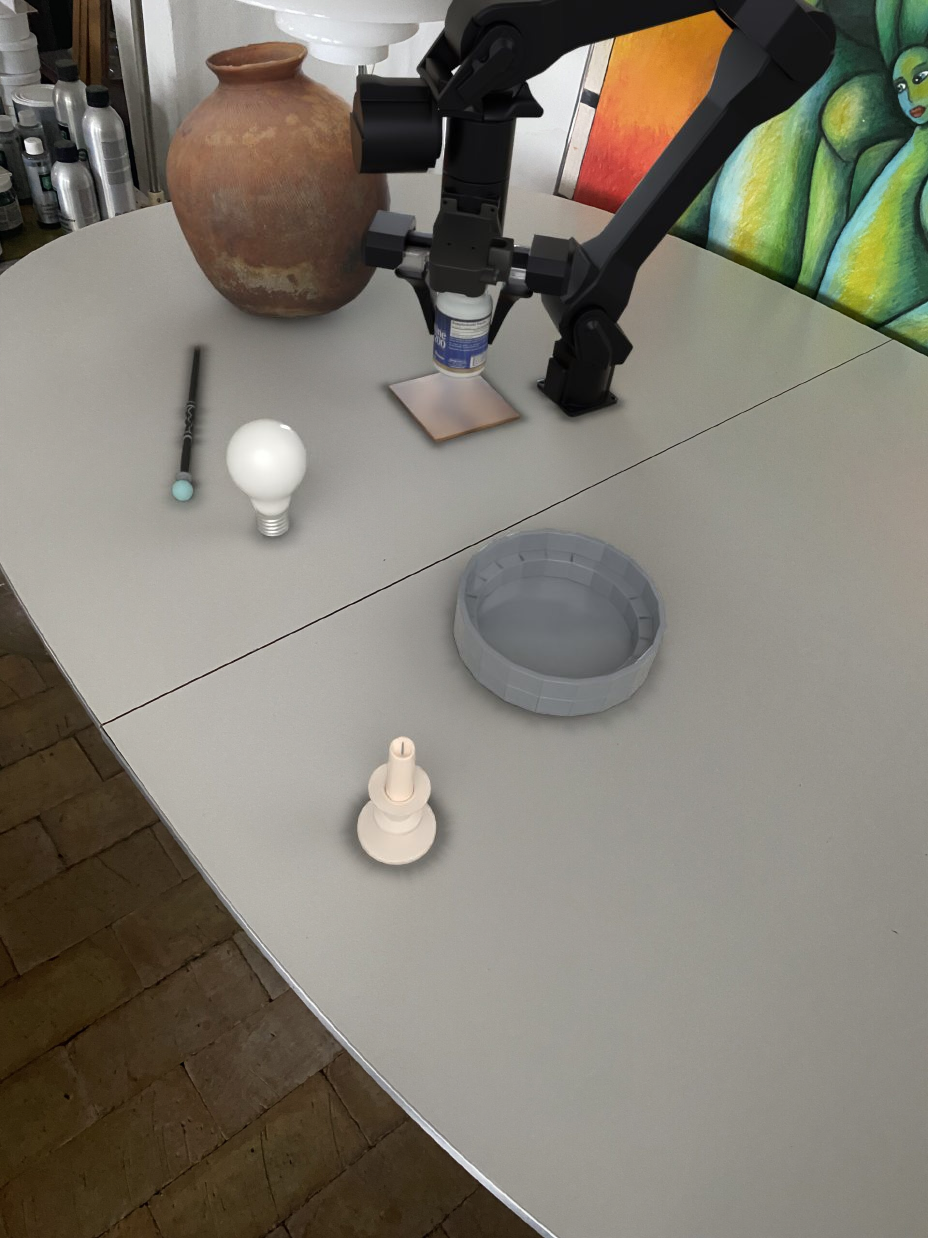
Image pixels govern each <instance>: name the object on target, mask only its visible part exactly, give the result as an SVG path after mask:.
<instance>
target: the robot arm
mask: <svg viewBox="0 0 928 1238" xmlns="http://www.w3.org/2000/svg"><path fill="white" fill-rule="evenodd" d="M710 12H714V13H715V14H716V15H717V17H718V18H719V19H720V20H721V21H722V22H723V23H724V24H725V25H726V26H727V27H728V28H729V29H730V30H731V32H730V34H729V36H728V37H727V39H726V40H725V43H724V45H723V46H722V47H721V51H720V53H719V56H718V60H717V63H716V67H715V71H714V73H713V77H712V80H711V84H710V87H709V89H708V91H707V93H706V94H705V96H704V97H703V98H702V100H701V101H700V102H699V104H697V107H695V109H694V110H693V112H692V113H691V114H690V116H689V117H688V118H687V119H686V120H685V122H684V123H683V125H682V126H681V128H680V129H679V130H678V131H677V133H676V134H675V135H674V137H673V138H672V139H671V140H670V142H669V143H668V144H667V146H666V147H665V148H664V149H663V151H662V152H661V154H660V155H659V156H658V158H657V159H656V160H655V161H654V163H653V164H652V165H651V166H650V168H649V169H648V171H646V173H645V174H644V176H643V177H642V179H641V180H640V181H638V183H637V185H636V186H635V187H634V189H633V190H632V191H631V193H630V194H629V195H628V196H627V198H626V199H625V201H624V202H623V203H622V204H621V206H620V207H619V208H618V210H617V211H616V212H615V214H613V216H612V217H611V219H610V220H609V222H608V223H606V225H605V227H604V228H603V229H602V230H601V231H600V232H599V233H598V234H597V235H596V236H594V237H592V238H590V239H588V240H585V241H584V242H582V243H579V242H578V241H577V240H576V238H575V237H574V236H570V237H568V238H567V239H566V238H560V237H555V236H548V235H541V234H536V233H534V234H533V235H532V240H531V244H530V246H529V245H524V244H523V245H522V244H515V239H514V237H513V238H511V237H507V236H506V237H505V236H504V230H505V221H506V212H507V203H508V195H509V186H510V179H511V169H512V162H513V152H514V144H515V135H516V128H517V120H518V119H540V118H542V117H543V116H544V113H545V110H544V108H543V107H542V105H541V104H540V103H539V102H538V100H537V99H536V98H535V97H534V95H533V93H532V90H531V88H530V85H529V83H528V80H532V79H533V78H535V77H536V76H539V75H541V74H543V73H544V72H546V71H547V70H549V69H550V68H551V67H552V66H553V65H554V64H555V63H556V62H558V61H559V60H560V59H561V58H562V57H563V56H565V55H567V54H569V53H571V52H573V51H575V50H577V49H579V48H583V47H586V46H590V45H594V44H597V43H601V42H604V41H608V40H612V39H615V38H620V37H623V36H626V35H630V34H634V33H636V32H641V31H644V30H649V29H651V28H655V27H659V26H662V25H667V24H670V23H674V22H677V21H681V20H684V19H688V18H692V17H695V16H699V15H702V14H706V13H710ZM837 39H838V35H837V29H836V25H835V23H834V20H833V19H832V17H831V16H830V15H829V14H827V13H826V12H824V11H823V10H821V9H820V8H818V7H816V6H815V5H813V4H811V3H809V2H808V1H806V0H452V1H451V3H450V4H449V6H448V8H447V11H446V14H445V19H444V27H443V28H442V30H441V31H440V33H438V35H437V37H436V39H435V40H434V41H433V43H432V44H431V46H430V47H429V49H428V50H427V51H426V53H425V54H424V56H423V57H422V58H421V60H420V62H419V63H418V64H417V66H416V69H415V70H416V74H417V75H418V77H403V76H401V77H400V76H396V77H394V76H393V77H392V76H389V77H388V76H380V75H377V74H372V73H358V74H357V75H356V77H355V92H354V94H353V100H352V106H353V112H350V132H351V145H352V154H353V161H354V166H355V170H356V172H357V174H387V175H389V174H393V175H395V174H396V175H397V174H426V173H428V171H429V169H435V168H436V165H437V160H439V159H440V158H441V156H442V169H441V170H442V171H441V183H440V184H441V185H440V187H441V188H440V198H439V201H440V202H439V210H438V213H437V215H436V217H435V221H434V222H433V225H432V232H426V231H420V230H417V219H416V215H414V214H407V213H401V212H395V211H390V212H389V211H383V210H378V211H377V212H376V213H375V214H374V215H373V216H372V217H371V219H370V221H369V223H368V225H367V227H366V229H365V231H364V232H363V234H362V239H361V262H362V263H363V264H364V265H365V266H371V267H377V269H378V268H379V269H384V270H391V271H394V274H395V277H396V278H398V279H402V280H405V281H406V282H407V283H408V284H409V285H410V286H411V287H412V289H413V291H414V293H415V295H416V297H417V300H418V303H419V305H420V309H421V312H422V315H423V318H424V321H425V325H426V328H427V332H428V334H429V335H430V336H434V326H435V311H436V299H437V295H438V292H440V293H445V292H450V293H456V294H462V295H465V296H467V297H471V298H477V297H480V296H481V295H483V294H484V292H485V289H486V284H488V285H489V286H497V284H498V283H501V287H500V288H499V289H500V290H499V293H498V297H497V301H496V304H495V307H494V312H493V314H492V319H491V326H490V330H489V336H488V346H489V345H493V343H494V342H495V339H496V338H497V335H498V334H499V331H500V329H501V327H502V325H503V323H504V322H505V319H506V317H507V316H508V314H509V312H510V310H511V309H512V308H513V306H515V304H516V302H517V301H520V299H530V298H532V297H533V295H534V293H535V294H540V301H541V304H542V305H543V307H544V310H545V311H546V313H547V314H548V316H549V318H550V320H551V321H552V324H553V325H554V327H555V328H556V331H557V332H558V334H559V336H560V338H559V339H556V340H554V344H553V349H552V355H551V356H550V357H549V358H548V361H547V367H546V373H545V378H541V379H539V380H537V382H536V387H537V388H538V389H539V391H541V392H542V393H543V394H544V395H545V396H546V397H547V398H548V399H549V400H551V401H552V403H554V404H555V405H556V406H557V407H558V408H559V409H560V410H561V411H562V412H563V413H564V414H565V415H566V416H568V417H572V418H573V417H577V416H580V415H584V414H587V413H591V412H594V411H597V410H601V409H603V408H604V409H605V408H607V407H611V406H614V405H616V404H618V401H619V398H618V397H617V396H616V394H614V393H613V392H612V391H611V390H610V389H611V385H612V381H613V377H614V373H615V370H616V366H622V365H624V364H625V362H626V361H627V359H628V358H629V356H630V354H631V353H632V351H633V349H634V345H633V344H632V343H631V341H630V339H629V338H628V336H627V334H626V333H625V332H624V330H623V329H622V327H621V326H620V324H619V320H620V318H621V317H622V315H623V314H624V312H625V310H626V309H627V307H628V305H629V303H630V299H631V295H632V293H633V290H634V289H633V288H634V286H635V282H636V279H637V275H638V272H639V270H640V269H641V267H642V265H644V263H645V262H646V260H648V258H649V257H650V255H651V254H652V253H653V252H654V250H655V249H656V248H657V247H658V246H659V245H660V243H661V242H662V241H663V240H664V239H665V237H666V236H667V235H668V234H669V232H670V231H671V230H672V228H673V227H674V226H675V225H676V224H677V222H678V221H679V220H680V219H681V217H682V216H683V215H684V214H685V212H686V211H687V210H688V209H689V208H690V206H691V205H692V204H693V203H694V201H695V200H697V198H698V196H700V194H701V193H702V192H703V190H704V189H705V188H706V187H707V185H708V184H709V183H710V182H711V180H712V179H714V177H715V176H716V174H717V173H718V172H719V171H720V170H721V168H722V167H723V165H725V163H726V162H727V161H728V160H729V159H730V157H731V156H732V154H733V153H735V151H736V149H738V147H739V146H740V144H742V142H743V141H744V140H745V138H746V137H747V136H748V135H749V134H750V133H751V132H752V131H753V130H754V129H755V128H757V127H759V126H761V125H763V124H764V123H766V122H768V121H770V120H772V119H774V118H775V117H777V116H780V115H781V114H783V113H785V112H787V111H788V110H790V109H791V108H792V107H793V106H794V105H795V104H797V102H798V101H800V100H801V98H803V96H805V95H806V94H807V93H809V91H810V90H811V89H812V88H814V86H815V85H816V84H817V83H819V81H820V80H821V79H822V78H823V77H824V76H825V74H826V73H827V71H828V70H829V68H830V67H831V66H832V65H833V61H834V60H835V57H836V44H837ZM456 69H457V70H456ZM454 70H456V71H455V72H454V73H453V71H454ZM444 118H445V121H444ZM443 124H444V126H443ZM443 127H444V129H443ZM443 133H444V134H443ZM443 139H444V140H443ZM442 152H443V153H442ZM442 154H443V155H442Z"/></svg>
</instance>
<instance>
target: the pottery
mask: <svg viewBox="0 0 928 1238" xmlns="http://www.w3.org/2000/svg"><path fill="white" fill-rule="evenodd" d="M308 52H309V51H308V48H307V47H306V45H304V44H302V43H299V42H296V41H292V42H289V41H279V40H274V41H265V42H258V43H249V44H246V45H242V46H234V47H231V48H227V49H223V50H219V51H216V52H214V53H212V54H210V55H209V56H208V57H207V58H206V60H205V61H204V62H205V65H206V67H207V68H208V69H209V70H210V71H211V72H212V73H213V74H214V75H215V76H216V78H217V79H218V84H217V85H216V87H215V89H213V91H211V92H210V93H209V94H208V95H206V97H204V98H203V99H202V100H201V101H200V102H198V104H197V105H196V106H195V107H192V109H191V110H190V112H189V113H188V114H187V116H185V118H184V119H183V121H182V122H181V124H180V125H179V127H178V128H177V130H176V132H175V134H174V136H173V138H172V140H171V142H170V145H169V148H168V153H167V157H166V163H165V168H166V169H165V176H166V186H167V190H168V194H169V198H170V202H171V205H172V209H173V211H174V215H175V217H176V219H177V222H178V225H179V227H180V229H181V232H182V234H183V236H184V239H185V241H186V243H187V245H188V247H189V249H190V251H191V253H192V256H193V258H194V260H195V262H196V263H197V265H198V266H199V269H200V270H201V271H202V272H203V274H204V276H205V278H206V279H207V280H208V281H209V283H210V284H211V286H212V287H213V288H214V289H215V290H216V291H217V292H218V293H219V294H220V295H221V296H222V297H224V298H225V299H226V300H227V301H228V302H230V304H232V305H233V306H235V307H236V308H238V309H239V310H240V311H243V312H245V313H248V314H250V315H255V316H260V317H261V316H262V317H270V318H287V319H288V318H291V319H296V318H297V319H299V318H311V317H312V318H313V317H317V316H322V315H326V314H330V313H332V312H335V311H337V310H340V309H341V308H342V307H344V306H346V305H348V304H349V303H351V302H353V300H355V299H356V298H357V297H358V296H359V295H360V294H361V293H362V292H363V291H364V290H365V288H366V287H367V286H368V284H369V283H370V281H371V279H372V278H373V276H374V274H375V272H376V271H377V269H378V268H377V267H371V266H365V265H364V264H363V263H362V262H361V239H362V234H363V232H364V231H365V229H366V227H367V225H368V223H369V221H370V219H371V217H372V216H373V215H374V214H375V213H376V212H377V211H378V210H383V211H389V212H391V202H392V201H391V191H390V184H389V178H388V174H357V172H356V170H355V166H354V161H353V154H352V145H351V132H350V112H353V104H351V103H350V102H348V101H347V100H346V99H345V98H344V97H343V96H342V95H341V94H339V93H338V92H337V91H335V90H333V89H332V88H330V87H328V86H327V85H325V84H323V83H321V82H318V80H315V79H313V78H311V77H309V75H307V74H305V73H304V70H303V69H302V68H303V65H304V62H305V61H306V59H307V57H308V54H309V53H308Z"/></svg>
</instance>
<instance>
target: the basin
mask: <svg viewBox="0 0 928 1238" xmlns="http://www.w3.org/2000/svg"><path fill="white" fill-rule="evenodd" d="M665 607H666V606H665V601H664V598H663V596H662V594H661V592H660V590H659V589H658V586H657V584H656V583H655V580H654V578H653V577H652V576H651V575H650V574H649V573H648V572H647V571H646V570H645V569H644V567H642V566H641V565H640V564H639V563H638V562H637V560H635V559H634V558H633V557H632V556H630V555H628V553H625V552H624V551H622V550H621V549H619V548H618V547H616V546H615V545H613V544H611V543H609V542H607V541H604V540H602V539H598V538H596V537H593V536H590V535H587V534H585V533H582V532H578V531H573V530H563V529H555V528H539V529H538V528H537V529H527V530H519V531H515V532H513V533H510V534H507V535H504V536H501V537H498V538H496V539H493V540H491V541H489V543H488V544H486V545H485V546H483V547H482V548H481V549H479V550H478V551H477V552H475V553H474V554H473V555H472V556H471V558H470V559H469V561H468V563H467V564H466V566H465V568H464V569H463V571H462V572H461V574H460V576H459V582H458V591H457V600H456V607H455V615H454V623H453V631H452V632H453V633H452V635H453V638H454V641H455V644H456V648H457V652H458V655H459V658H460V659H461V661H462V662H463V663H464V665H465V667H466V668H467V669H468V670H469V672H470V673H471V674H472V676H473V678H474V679H475V680H476V682H478V683H479V684H481V686H484V687H485V688H486V689H487V690H489V691H490V692H492V693H493V694H494V695H496V696H497V697H498V698H500V699H501V700H502V701H504V702H506V703H509V704H512V705H514V706H518V707H519V708H522V709H525V710H527V711H530V712H532V713H535V714H543V715H550V716H558V717H566V718H567V717H570V718H571V717H575V716H576V717H577V716H584V715H591V714H597V713H601V712H604V711H606V710H608V709H611V708H612V707H615V706H617V705H619V704H621V703H623V702H626V701H627V700H629V698H631V697H632V695H633V694H635V692H636V691H637V690H638V689H640V687H641V686H642V685H643V684H644V683H645V682H646V680H647V678H648V674H649V673H650V670H651V668H652V665H653V663H654V660H655V658H656V655H657V653H658V651H659V648H660V645H661V642H662V639H663V636H664V634H665V631H666V628H667V619H666V618H667V617H666V608H665Z"/></svg>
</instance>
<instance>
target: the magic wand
mask: <svg viewBox="0 0 928 1238" xmlns="http://www.w3.org/2000/svg"><path fill="white" fill-rule="evenodd" d="M199 359H200V347H199V346H198V345H196V346H195V347H194V350H193V358H192V365H191V366H192V367H191V373H190V382H189V383H190V384H189V391H188V399H187V403H186V405H185V406H186V407H185V408H186V410H185V416H186V418H185V420H184V424H185V427H184V433H183V437H182V441H183V444H182V450H181V456H180V457H181V458H180V470H179V472H177V473H176V474H175V477H174V478H175V482H174V484H173V485H172V488H171V491H172V495H173V497H174V498H175V499H176V500H177V501H180V502H186V501H189V500H190V498H192V497H193V494H194V489H193V485H192V484H191V483H192V480H193V476H192V475H191V474H190V467H191V458H192V457H191V456H192V443H193V440H194V433H193V429H194V420H195V412H196V407H197V406H196V405H197V404H196V394H197V382H198V372H199V362H200V361H199Z"/></svg>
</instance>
